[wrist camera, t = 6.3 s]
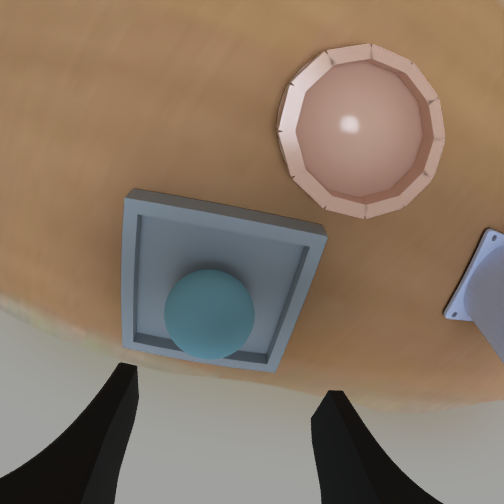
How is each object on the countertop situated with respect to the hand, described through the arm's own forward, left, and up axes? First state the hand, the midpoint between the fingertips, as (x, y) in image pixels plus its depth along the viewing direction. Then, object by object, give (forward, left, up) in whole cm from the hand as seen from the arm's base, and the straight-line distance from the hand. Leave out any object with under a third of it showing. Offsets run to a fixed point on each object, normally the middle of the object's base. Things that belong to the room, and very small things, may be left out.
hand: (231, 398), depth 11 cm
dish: (-5, -10, -10) cm, 15 cm away
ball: (+1, +2, -9) cm, 9 cm away
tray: (+1, +2, -10) cm, 10 cm away
